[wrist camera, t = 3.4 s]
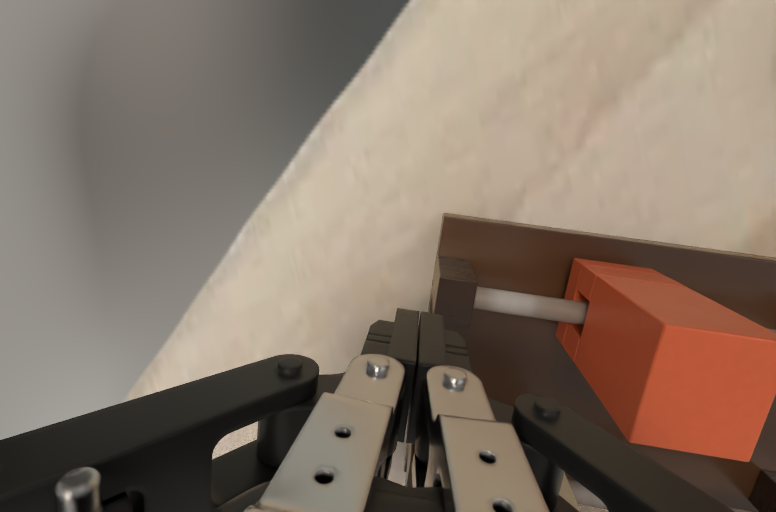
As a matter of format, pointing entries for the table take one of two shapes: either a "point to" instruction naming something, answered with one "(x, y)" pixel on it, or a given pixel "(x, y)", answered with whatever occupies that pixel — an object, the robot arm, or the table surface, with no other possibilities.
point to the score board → (548, 307)
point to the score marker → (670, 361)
